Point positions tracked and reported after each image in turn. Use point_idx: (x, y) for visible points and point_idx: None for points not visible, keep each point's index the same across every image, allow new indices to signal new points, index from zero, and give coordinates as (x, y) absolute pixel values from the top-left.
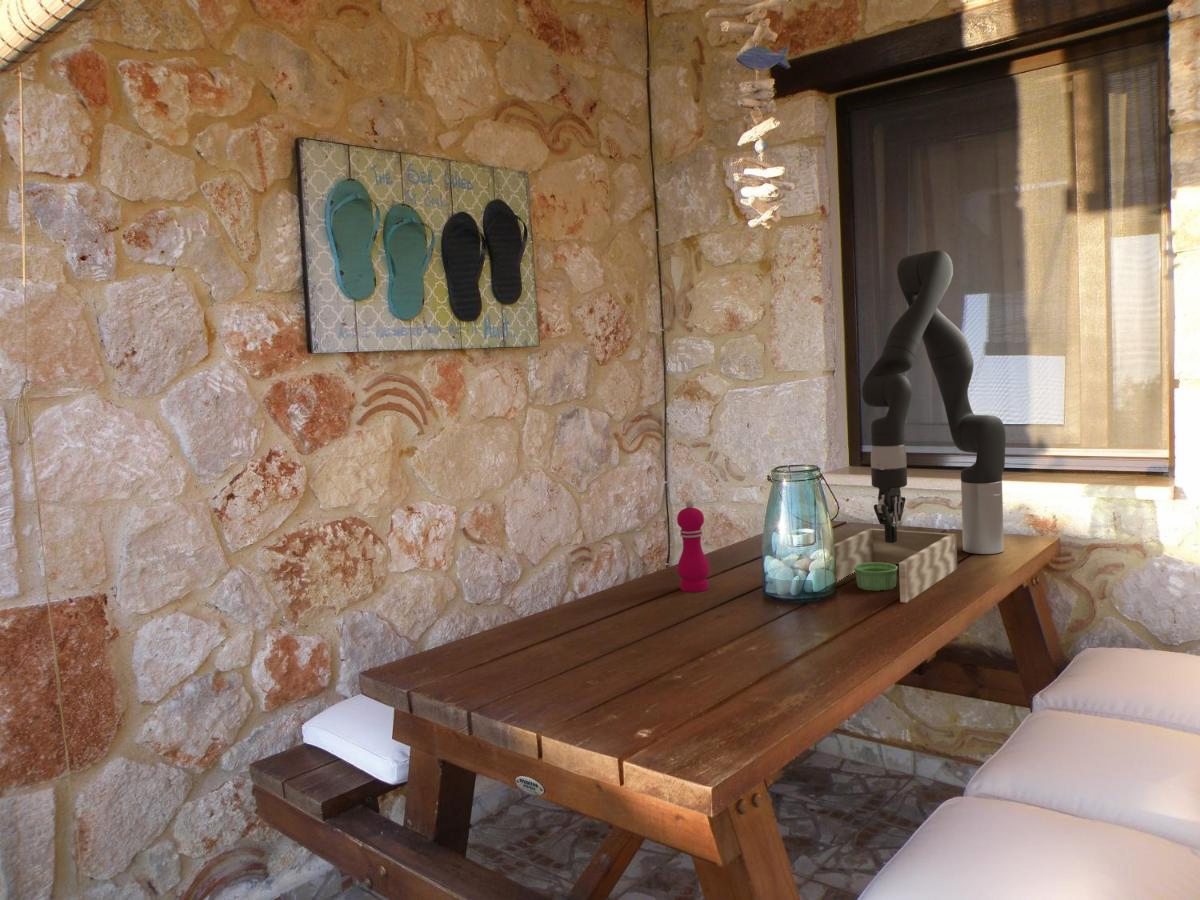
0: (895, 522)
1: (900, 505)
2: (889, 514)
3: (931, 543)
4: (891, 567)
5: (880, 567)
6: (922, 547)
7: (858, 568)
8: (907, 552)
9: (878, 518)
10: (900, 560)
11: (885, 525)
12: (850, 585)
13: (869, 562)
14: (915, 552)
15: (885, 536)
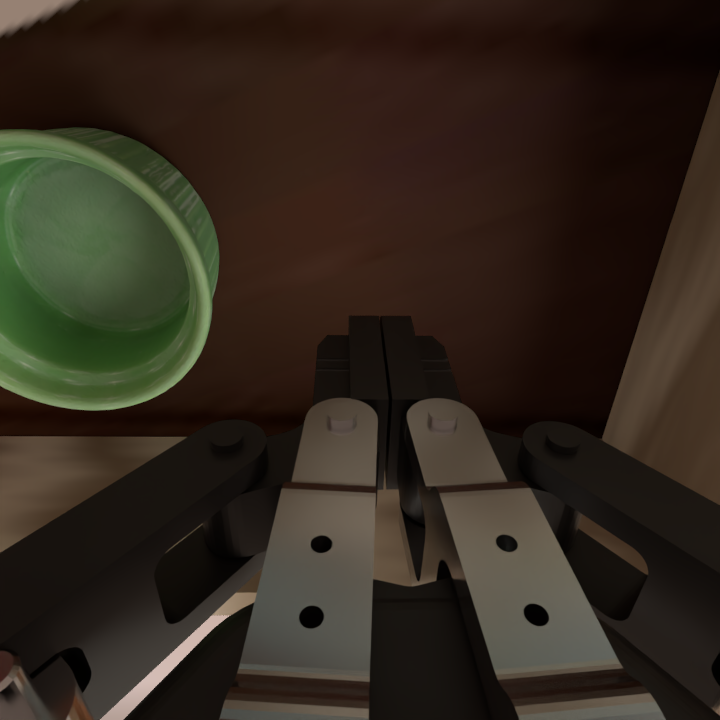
0: (400, 518)
1: (695, 689)
2: (162, 653)
3: (699, 452)
4: (184, 344)
5: (187, 266)
6: (705, 381)
7: (30, 148)
8: (715, 264)
9: (107, 498)
10: (699, 193)
11: (294, 439)
12: (26, 82)
13: (153, 199)
14: (698, 319)
15: (317, 356)
